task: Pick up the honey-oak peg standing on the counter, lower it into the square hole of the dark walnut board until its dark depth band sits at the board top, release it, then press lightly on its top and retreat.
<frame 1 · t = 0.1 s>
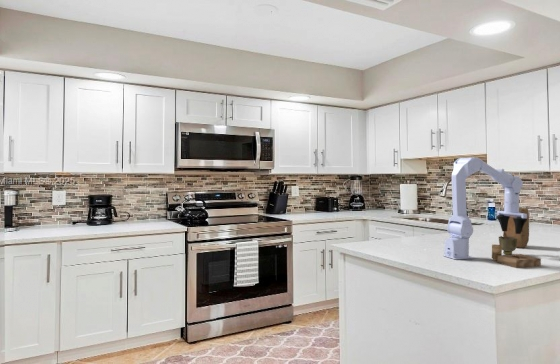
hand: (511, 232, 172), 10 cm above the countertop, tool pointing down, fingers open, 7 cm apart
block: (515, 246, 191), on the countertop
board: (518, 264, 152), on the countertop
peg: (496, 260, 159), on the countertop
cup: (507, 254, 172), on the countertop
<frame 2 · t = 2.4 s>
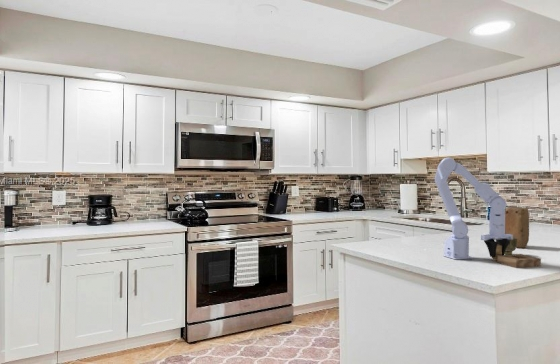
hand: (496, 256, 159), 2 cm above the countertop, tool pointing down, fingers closed on peg, 4 cm apart
peg: (496, 260, 159), on the countertop, touching gripper
everything else where it was.
when the fingers open (3 cm above the countertop, at t = 5.6 s): peg drops 2 cm, resting in board.
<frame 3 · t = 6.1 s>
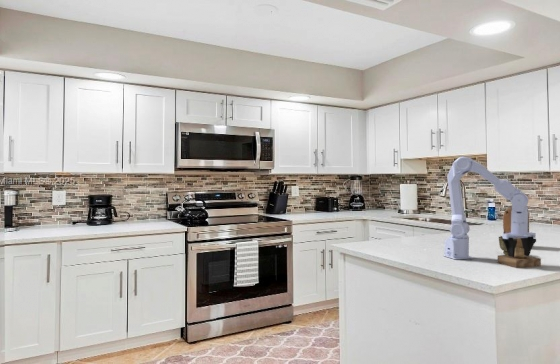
hand: (518, 256, 152), 3 cm above the countertop, tool pointing down, fingers open, 7 cm apart
peg: (518, 264, 152), resting in board
everything else where it was.
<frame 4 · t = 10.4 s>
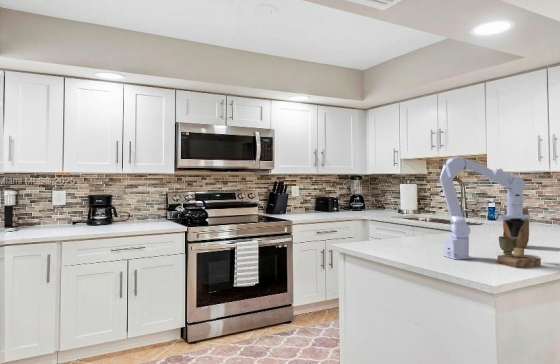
hand: (514, 236, 160), 10 cm above the countertop, tool pointing down, fingers closed
nothing on the countertop moved.
at the end: peg 0.1 cm off-centre on the board, point 0.0 cm above the board's base; peg tilted 1°; the gripper is holding nothing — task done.
